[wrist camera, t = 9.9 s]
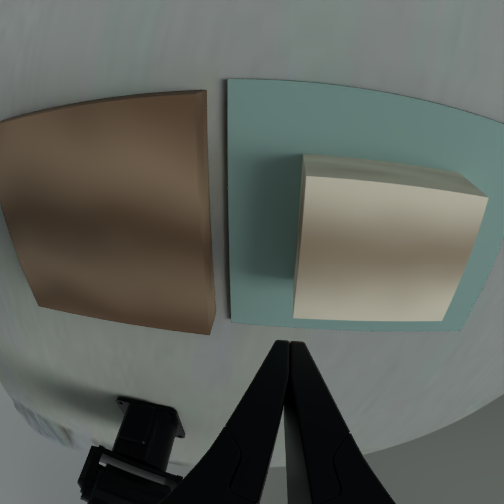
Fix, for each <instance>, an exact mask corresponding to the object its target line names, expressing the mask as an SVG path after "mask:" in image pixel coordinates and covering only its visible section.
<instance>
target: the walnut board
mask: <svg viewBox="0 0 504 504" xmlns="http://www.w3.org/2000/svg"><path fill="white" fill-rule="evenodd" d="M0 204H1V207H2V211H3V214H4V217H5V221H6V224H7V227H8V230H9V233H10V236H11V239H12V242H13V245H14V247H15V250H16V253H17V255H18V258H19V261H20V263H21V266H22V268H23V271H24V273H25V276H26V278H27V281H28V283H29V285H30V288H31V290H32V292H33V295H34V297H35V299H36V301H37V303H38V306H41V307H45V308H50V309H54V310H59V311H63V312H68V313H73V314H78V315H83V316H88V317H93V318H98V319H104V320H109V321H115V322H121V323H126V324H133V325H139V326H145V327H152V328H158V329H165V330H172V331H180V332H187V333H195V334H204V335H210V333H211V329H212V325H213V321H214V318H215V314H216V304H215V290H214V275H213V259H212V241H211V222H210V201H209V176H208V144H207V91H206V90H190V91H172V92H158V93H146V94H136V95H127V96H119V97H111V98H104V99H97V100H91V101H85V102H79V103H73V104H68V105H63V106H58V107H53V108H48V109H44V110H39V111H35V112H31V113H27V114H23V115H19V116H15V117H12V118H8V119H5V120H2V121H0Z"/></svg>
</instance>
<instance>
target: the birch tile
mask: <svg viewBox="0 0 504 504" xmlns="http://www.w3.org/2000/svg"><path fill="white" fill-rule="evenodd" d="M487 202H488V197H487V196H486V195H485V194H484V193H483V192H482V191H480V190H479V189H478V188H477V187H476V186H475V185H473V184H472V183H471V182H470V181H469V180H468V179H466V178H465V177H464V176H463V175H461V174H460V173H458V172H452V171H446V170H441V169H435V168H428V167H422V166H415V165H409V164H401V163H394V162H386V161H378V160H369V159H360V158H350V157H339V156H327V155H314V154H303V161H302V177H301V192H300V206H299V219H298V232H297V244H296V255H295V266H294V277H293V318H299V319H321V320H349V321H442V320H443V318H444V316H445V314H446V311H447V309H448V307H449V305H450V303H451V301H452V298H453V296H454V294H455V291H456V289H457V287H458V284H459V282H460V280H461V277H462V275H463V272H464V270H465V267H466V265H467V262H468V259H469V257H470V254H471V251H472V249H473V246H474V243H475V240H476V237H477V234H478V231H479V228H480V225H481V222H482V219H483V215H484V212H485V209H486V205H487Z"/></svg>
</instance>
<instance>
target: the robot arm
mask: <svg viewBox="0 0 504 504" xmlns="http://www.w3.org/2000/svg"><path fill="white" fill-rule="evenodd" d="M116 402H117V404H118V405H119V407H120V409H121V410H122V412H123V414H124V418H123V421H122V423H121V426H120V429H119V432H118V434H117V437H116V440H115V443H114V445H113V448H112V451H110V450H108V449H106V448H104V447H103V446H101V445H99V447H95V446H91V449H90V451H89V454H88V457H87V459H86V462H85V464H84V467H83V470H82V472H81V474H80V477H79V479H78V484H79V486H80V488H81V491H80V492H81V493H82V496H81V499H82V500H84V501H86V502H87V504H260V500H261V496H262V493H263V489H264V485H265V481H266V478H267V474H268V470H269V466H270V462H271V458H272V454H273V450H274V446H275V442H276V438H277V433H278V429H279V425H280V420H281V416H282V411H283V406H284V429H285V450H286V472H287V497H288V504H396V503H395V502H394V501H393V499H392V498H391V497H390V495H389V494H388V492H387V491H386V489H385V488H384V487H383V485H382V484H381V482H380V481H379V480H378V478H377V477H376V475H375V474H374V472H373V471H372V470H371V468H370V466H369V465H368V463H367V462H366V460H365V459H364V457H363V455H362V453H361V452H360V450H359V448H358V446H357V444H356V442H355V440H354V438H353V436H352V434H351V433H349V432H350V431H349V429H348V427H347V425H346V423H345V421H344V419H343V417H342V415H341V413H340V411H339V409H338V407H337V405H336V403H335V401H334V399H333V397H332V395H331V393H330V391H329V389H328V387H327V385H326V384H325V382H324V380H323V378H322V376H321V374H320V372H319V370H318V368H317V366H316V364H315V362H314V360H313V358H312V356H311V354H310V352H309V350H308V348H307V346H306V344H305V343H304V342H301V341H291V342H289V341H286V340H276V341H275V343H274V344H273V346H272V348H271V350H270V351H269V353H268V355H267V357H266V358H265V360H264V362H263V363H262V365H261V367H260V369H259V370H258V372H257V374H256V375H255V377H254V379H253V381H252V382H251V384H250V386H249V387H248V389H247V391H246V392H245V394H244V396H243V397H242V399H241V401H240V402H239V404H238V406H237V407H236V409H235V410H234V412H233V414H232V415H231V417H230V419H229V420H228V422H227V423H226V425H225V426H226V427H224V428H223V429H222V431H221V433H220V434H219V436H218V437H217V439H216V440H215V442H214V443H213V444H212V446H211V447H210V449H209V450H208V451H207V453H206V454H205V455H204V456H203V457H202V459H201V460H200V461H199V462H198V463H197V465H196V466H195V467H194V468H193V469H192V470H191V471H190V472H189V473H188V474H187V476H186V477H185V478H184V479H183V477H182V476H178V475H177V476H176V475H173V474H170V473H167V472H166V469H167V465H168V461H169V457H170V454H171V450H172V446H173V442H174V438H175V437H178V438H184V437H185V432H184V430H183V427H182V424H181V421H180V419H179V416H178V413H177V411H176V410H174V409H171V408H166V407H161V406H156V405H151V404H147V403H142V402H138V401H133V400H129V399H125V398H121V397H118V398H117V400H116ZM99 461H100V462H102V463H105V464H106V467H104V466H102V465H100V464H99Z"/></svg>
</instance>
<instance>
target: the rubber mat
mask: <svg viewBox="0 0 504 504" xmlns="http://www.w3.org/2000/svg"><path fill="white" fill-rule="evenodd" d="M303 154H314V155H327V156H339V157H350V158H360V159H369V160H378V161H386V162H394V163H401V164H409V165H415V166H422V167H428V168H435V169H441V170H446V171H452V172H458V173H460V174H461V175H463V176H464V177H465V178H466V179H468V180H469V181H470V182H471V183H472V184H473V185H475V186H476V187H477V188H478V189H479V190H480V191H482V192H483V193H484V194H485V195H486V196H487V197H488V202H487V205H486V209H485V212H484V215H483V219H482V222H481V225H480V228H479V231H478V234H477V237H476V240H475V243H474V246H473V249H472V251H471V254H470V257H469V259H468V262H467V265H466V267H465V270H464V272H463V275H462V277H461V280H460V282H459V284H458V287H457V289H456V291H455V294H454V296H453V298H452V301H451V303H450V305H449V307H448V309H447V311H446V314H445V316H444V318H443V320H442V321H349V320H321V319H299V318H293V277H294V266H295V255H296V244H297V232H298V219H299V206H300V192H301V177H302V161H303ZM228 214H229V261H230V296H231V322H232V323H242V324H254V325H266V326H279V327H294V328H310V329H330V330H355V331H460V330H461V329H462V327H463V325H464V323H465V321H466V319H467V318H468V316H469V314H470V312H471V310H472V308H473V306H474V304H475V302H476V300H477V298H478V296H479V294H480V292H481V290H482V288H483V286H484V284H485V281H486V279H487V277H488V275H489V273H490V270H491V268H492V266H493V263H494V261H495V259H496V256H497V254H498V251H499V249H500V246H501V244H502V241H503V238H504V124H503V123H500V122H497V121H494V120H491V119H488V118H485V117H482V116H479V115H476V114H473V113H469V112H466V111H463V110H459V109H456V108H452V107H448V106H445V105H441V104H437V103H433V102H429V101H424V100H420V99H416V98H411V97H406V96H402V95H397V94H391V93H386V92H380V91H375V90H368V89H362V88H355V87H348V86H340V85H332V84H323V83H313V82H301V81H287V80H266V79H228Z"/></svg>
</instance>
